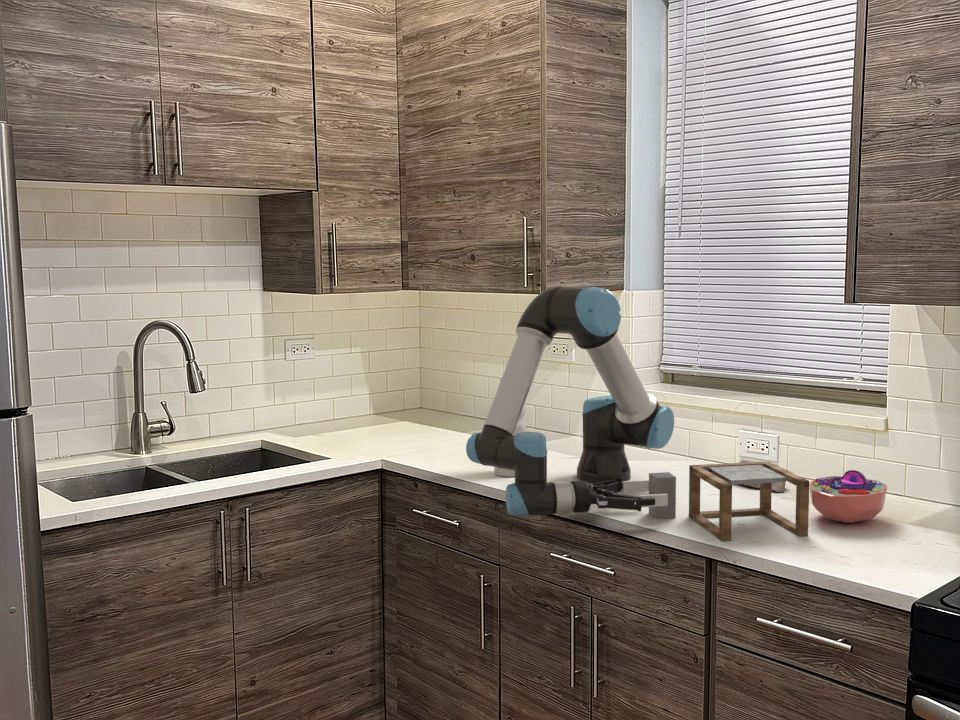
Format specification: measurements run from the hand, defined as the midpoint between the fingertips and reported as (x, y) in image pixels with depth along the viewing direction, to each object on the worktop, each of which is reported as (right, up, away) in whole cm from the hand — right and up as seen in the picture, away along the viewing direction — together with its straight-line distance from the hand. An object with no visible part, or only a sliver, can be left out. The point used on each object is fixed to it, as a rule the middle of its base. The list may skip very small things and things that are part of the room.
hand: (657, 492), depth 224 cm
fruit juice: (-34, -1, +46) cm, 57 cm away
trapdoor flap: (+19, +5, -9) cm, 21 cm away
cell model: (+44, -6, -4) cm, 44 cm away
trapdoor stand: (+19, -7, -8) cm, 22 cm away
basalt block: (+1, -6, +1) cm, 6 cm away
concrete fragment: (+33, -3, +28) cm, 43 cm away
